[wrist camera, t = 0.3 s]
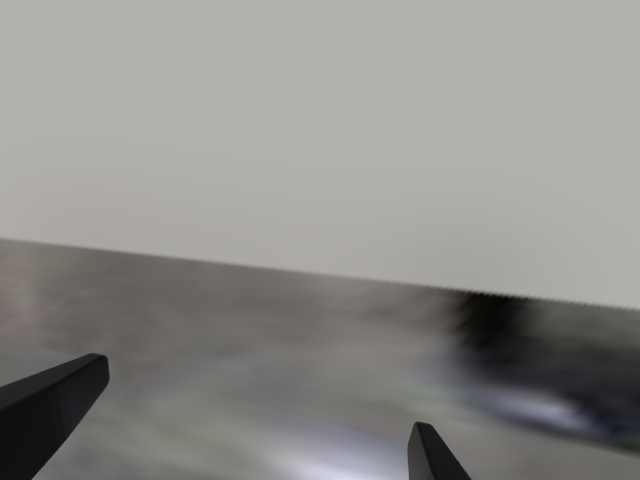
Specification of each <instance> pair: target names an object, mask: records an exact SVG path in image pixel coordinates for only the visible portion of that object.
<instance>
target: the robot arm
mask: <svg viewBox="0 0 640 480" xmlns="http://www.w3.org/2000/svg"><path fill="white" fill-rule="evenodd" d="M109 379H110V375H109V365H108V358H107V357H106V356H105V355H101V354H96V353H91V354H88V355H85V356H82V357H80V358H77V359H74V360H72V361H69V362H66V363H64V364H61V365H58V366H56V367H53V368H50V369H48V370H45V371H42V372H40V373H37V374H34V375H32V376H29V377H26V378H24V379H21V380H18V381H16V382H13V383H10V384H7V385H5V386H2V387H0V480H32V478H33V477H34V476H35V475H36V474H37V473H38V472H39V470H40V469H41V468H42V467H43V466H44V465H45V464H46V462H47V461H48V460H49V459H50V458H51V457H52V456H53V455H54V453H55V452H56V451H57V450H58V449H59V448H60V446H61V445H62V444H63V443H64V442H65V441H66V439H67V438H68V437H69V436H70V434H71V433H72V432H73V430H74V429H75V428H76V426H77V425H78V424H79V423H80V421H81V420H82V419H83V417H84V416H85V415H86V413H87V412H88V411H89V409H90V408H91V407H92V405H93V404H94V403H95V401H96V400H97V399H98V397H99V396H100V395H101V393H102V392H103V391H104V389H105V388H106V386H107V385H108V382H109ZM408 468H409V480H471V478H470V477H469V476H468V474H467V473H466V471H465V470H464V469H463V467H462V466H461V465H460V463H459V462H458V460H457V459H456V458H455V456H454V455H453V454H452V452H451V451H450V449H449V448H448V447H447V445H446V444H445V443H444V441H443V440H442V438H441V437H440V436H439V434H438V433H437V432H436V430H435V429H434V427H433V426H432V425H430V424H428V423H423V422H418V421H417V422H415V423H414V426H413V429H412V432H411V436H410V439H409V443H408Z"/></svg>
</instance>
